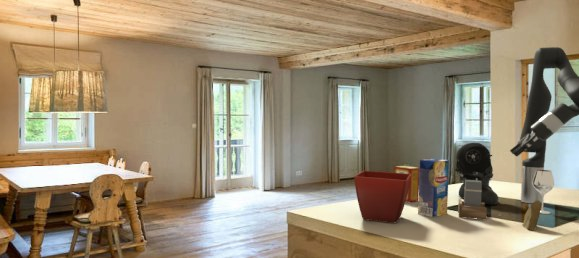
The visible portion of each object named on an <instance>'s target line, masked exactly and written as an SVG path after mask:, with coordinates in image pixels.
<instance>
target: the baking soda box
mask: <svg viewBox="0 0 579 258" xmlns="http://www.w3.org/2000/svg"><path fill="white" fill-rule="evenodd" d="M393 173H403V174H411V179H410V185H409V190H408V194H407V198H406V201H405V203H414V202H419V174H420V167H416V166H407V165H406V166H405V165H397V166H394V171H393Z"/></svg>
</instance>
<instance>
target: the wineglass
mask: <svg viewBox="0 0 579 258" xmlns="http://www.w3.org/2000/svg"><path fill="white" fill-rule="evenodd" d="M532 184H533V187H534V188H535V189H536V190H537V191H538V192H539V193H540V194H541V196H542V200H541V203H542V207H541V210H540V215H541V214H542V215H550V214H551V211H547V210H544V201H545V199H544V197H545V195H546V194H548V193H549V192H551V191H552V190H553V189H554V188H555V179H554V175H553V171H552V170H548V169H544V170H536V172H535V175H534V178H533V181H532Z"/></svg>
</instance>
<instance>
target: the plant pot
mask: <svg viewBox="0 0 579 258" xmlns="http://www.w3.org/2000/svg"><path fill="white" fill-rule="evenodd" d="M353 178H354V186H355V193H356V198H357V202H358V207H359V211H360V215H361V217H362V219H363V220H365V221H374V222H382V223H392V224H397V223H398V221H399V220H400V218H401V216H402V215H403V210H404V208H405V204H406V202H405V201H406V198H407V194H408V190H409V185H410V179H411V174H403V173H394V172H389V171H388V172H387V171H375V170H373V171H372V170H362V171H360V172H359V173H357V174H355V175H354V177H353Z"/></svg>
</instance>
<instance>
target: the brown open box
mask: <svg viewBox="0 0 579 258" xmlns="http://www.w3.org/2000/svg"><path fill="white" fill-rule="evenodd" d="M457 203H458V204H457V205H458V208H457V212H458V213H459V214H458V213H457V214H458V218H462V217H466V218H465V219H473V218H477V219H476V220H483V219H486V220H487V213H488V208H487V207H485V205H486V204H485V203H481V207H474V206H464V200H462V198H458V202H457Z"/></svg>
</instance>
